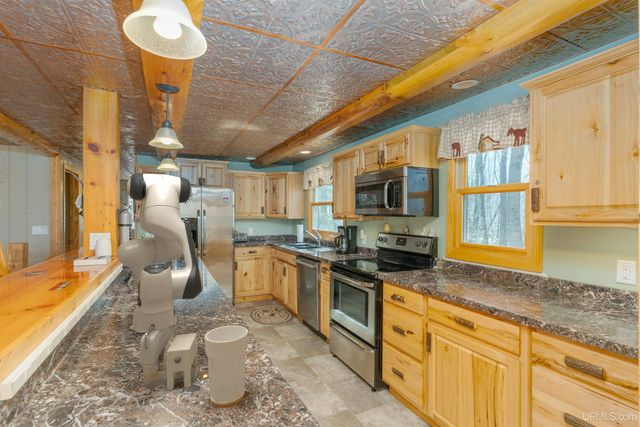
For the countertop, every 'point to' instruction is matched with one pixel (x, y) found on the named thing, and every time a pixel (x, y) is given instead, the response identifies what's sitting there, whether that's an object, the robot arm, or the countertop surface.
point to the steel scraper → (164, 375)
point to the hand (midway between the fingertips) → (158, 365)
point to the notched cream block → (181, 358)
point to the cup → (226, 364)
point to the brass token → (203, 374)
